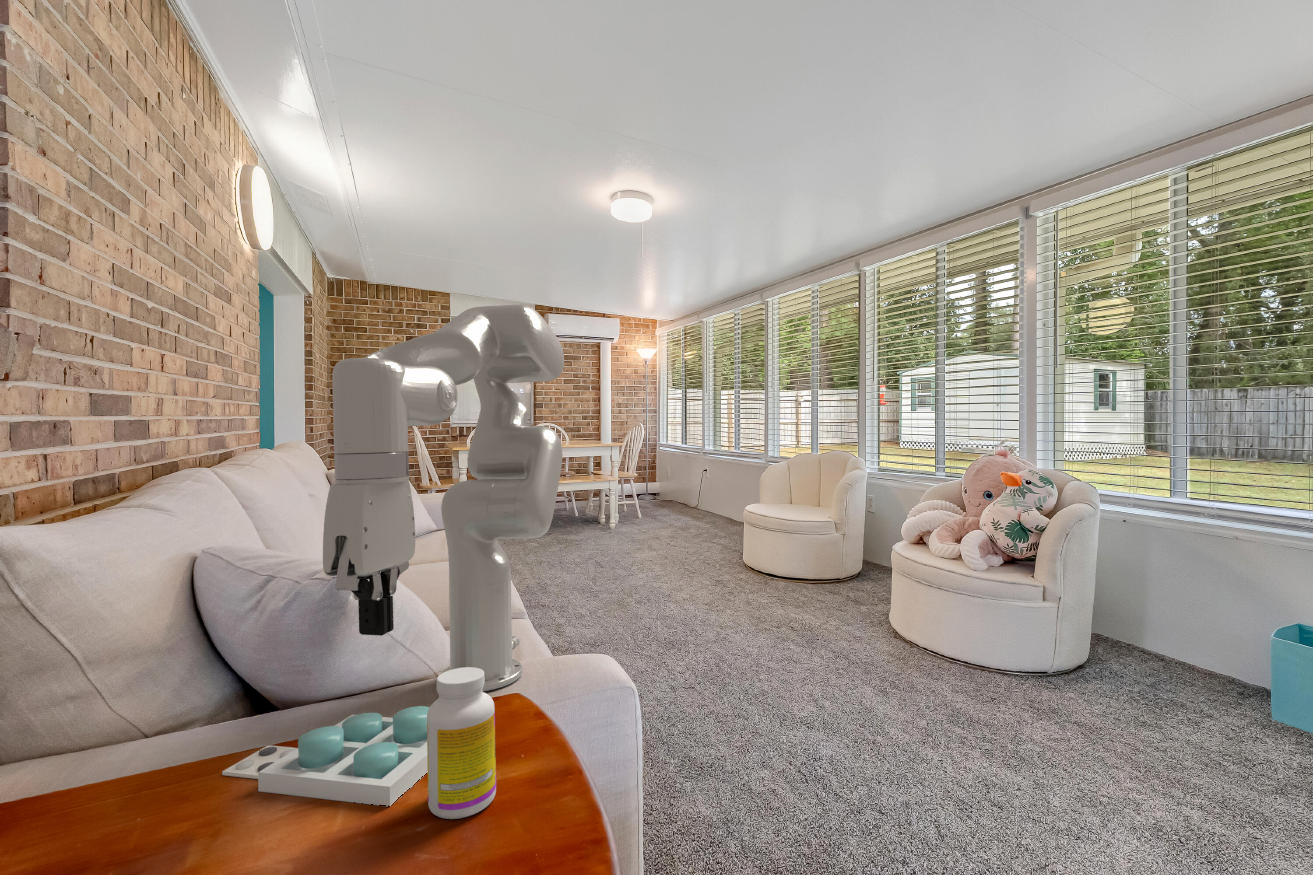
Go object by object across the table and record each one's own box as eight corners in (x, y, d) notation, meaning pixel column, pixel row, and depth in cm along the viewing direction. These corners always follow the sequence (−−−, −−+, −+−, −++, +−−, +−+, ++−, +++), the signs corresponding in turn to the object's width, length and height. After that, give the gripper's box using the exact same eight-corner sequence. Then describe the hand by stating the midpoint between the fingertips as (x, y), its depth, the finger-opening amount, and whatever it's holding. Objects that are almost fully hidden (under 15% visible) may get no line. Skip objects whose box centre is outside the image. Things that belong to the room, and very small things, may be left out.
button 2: (359, 731, 74) (359, 711, 74) (389, 733, 73) (389, 713, 73) (333, 748, 70) (333, 727, 70) (365, 751, 69) (365, 730, 69)
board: (352, 729, 76) (352, 714, 76) (463, 739, 72) (463, 723, 73) (258, 791, 62) (258, 772, 62) (390, 806, 59) (389, 786, 59)
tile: (268, 748, 71) (268, 743, 71) (309, 752, 70) (309, 747, 70) (222, 774, 66) (222, 769, 66) (266, 779, 64) (266, 774, 64)
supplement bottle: (509, 799, 60) (507, 673, 60) (448, 831, 55) (446, 693, 55) (475, 776, 64) (473, 658, 64) (416, 803, 59) (414, 676, 60)
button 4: (408, 725, 72) (408, 704, 73) (440, 727, 72) (439, 707, 72) (384, 742, 68) (384, 720, 68) (418, 745, 67) (417, 723, 67)
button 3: (372, 762, 66) (372, 740, 66) (406, 766, 65) (406, 743, 65) (344, 784, 62) (343, 760, 62) (380, 788, 61) (380, 764, 61)
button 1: (319, 746, 68) (319, 724, 68) (352, 749, 67) (352, 727, 67) (288, 766, 63) (288, 743, 63) (323, 769, 62) (322, 746, 62)
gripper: (386, 466, 73) (389, 611, 73) (289, 474, 59) (294, 655, 59) (440, 465, 72) (443, 614, 72) (354, 473, 57) (359, 659, 57)
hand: (376, 632), depth 65 cm, fingers closed
